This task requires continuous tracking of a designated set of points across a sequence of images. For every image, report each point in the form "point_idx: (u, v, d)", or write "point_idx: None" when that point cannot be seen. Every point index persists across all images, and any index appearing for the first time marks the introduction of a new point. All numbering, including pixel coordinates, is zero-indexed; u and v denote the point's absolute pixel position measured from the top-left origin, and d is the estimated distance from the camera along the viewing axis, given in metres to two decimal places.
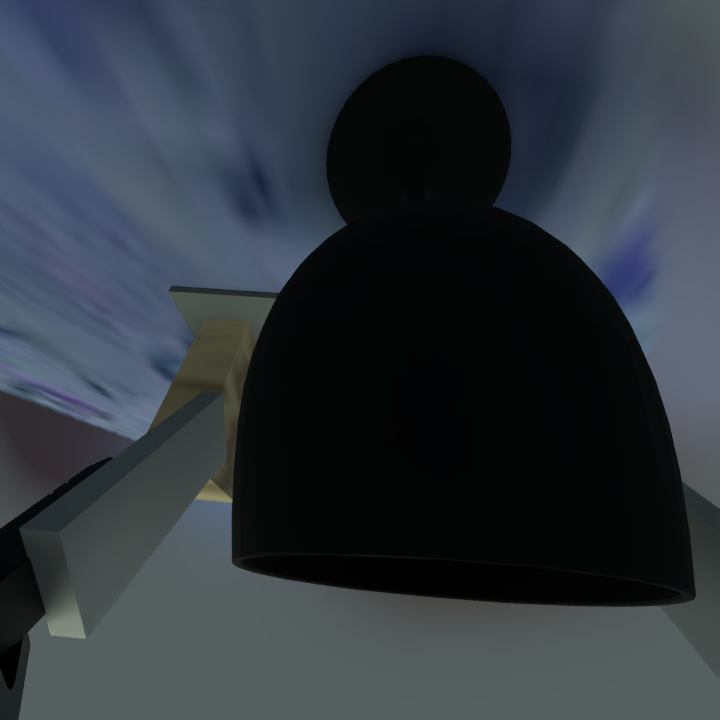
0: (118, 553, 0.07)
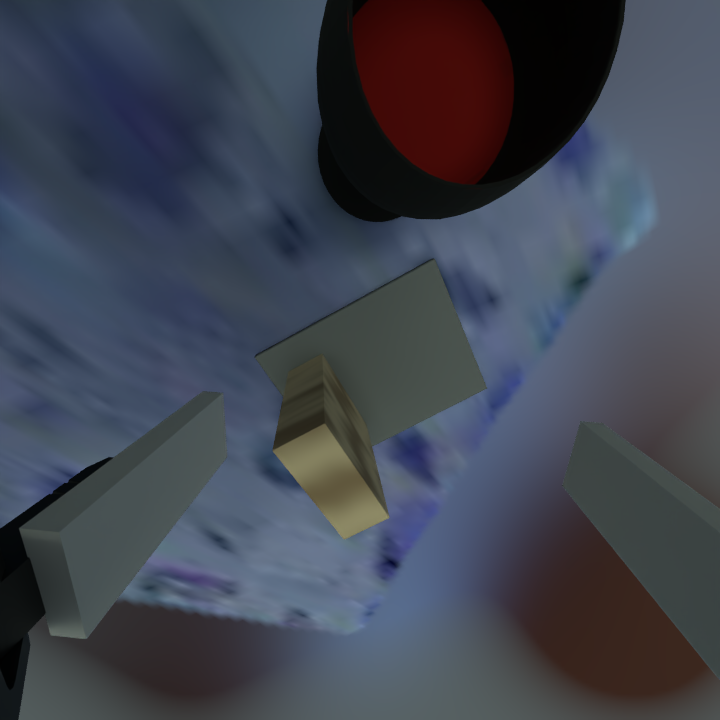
0: (118, 553, 0.07)
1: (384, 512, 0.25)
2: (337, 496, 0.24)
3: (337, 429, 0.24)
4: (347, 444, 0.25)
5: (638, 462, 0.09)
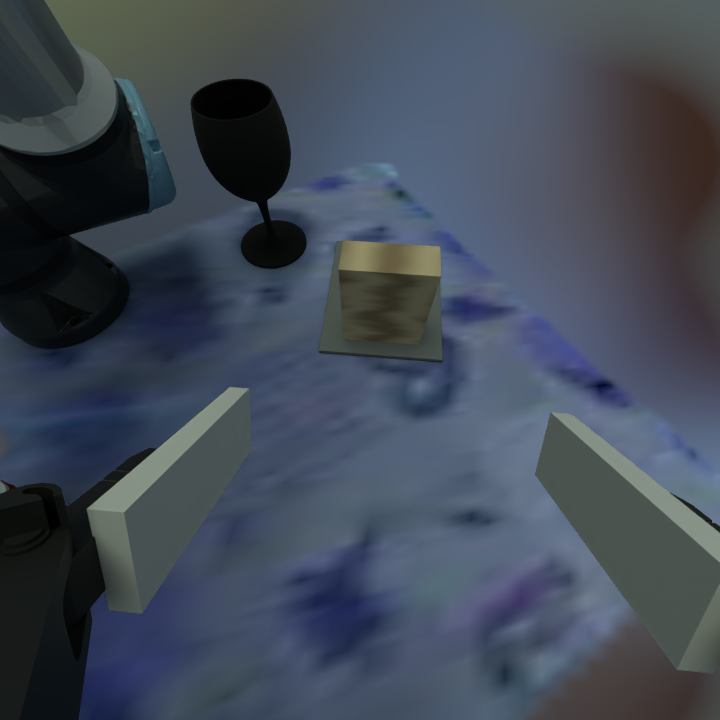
0: (166, 536, 0.08)
1: (433, 247, 0.34)
2: (398, 260, 0.33)
3: None
4: None
5: (598, 449, 0.10)
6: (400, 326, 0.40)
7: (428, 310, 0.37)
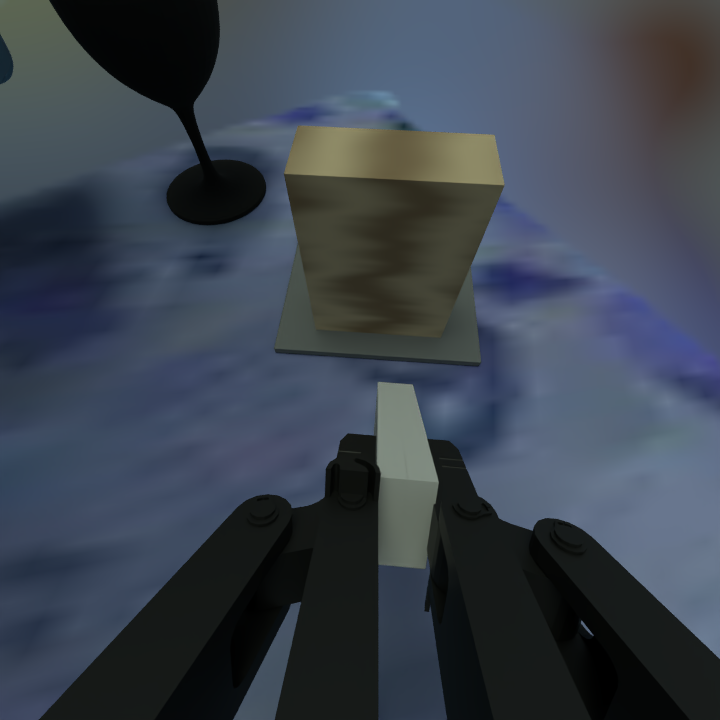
0: None
1: (480, 135, 0.17)
2: (412, 157, 0.16)
3: None
4: None
5: (403, 408, 0.12)
6: (410, 305, 0.23)
7: (465, 271, 0.20)
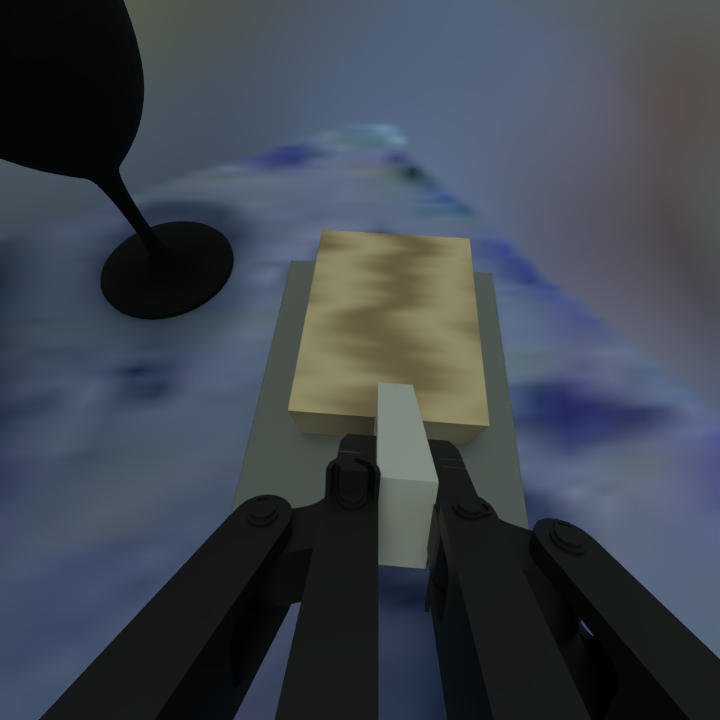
0: None
1: None
2: None
3: None
4: None
5: (404, 408, 0.12)
6: (428, 352, 0.18)
7: (473, 303, 0.20)
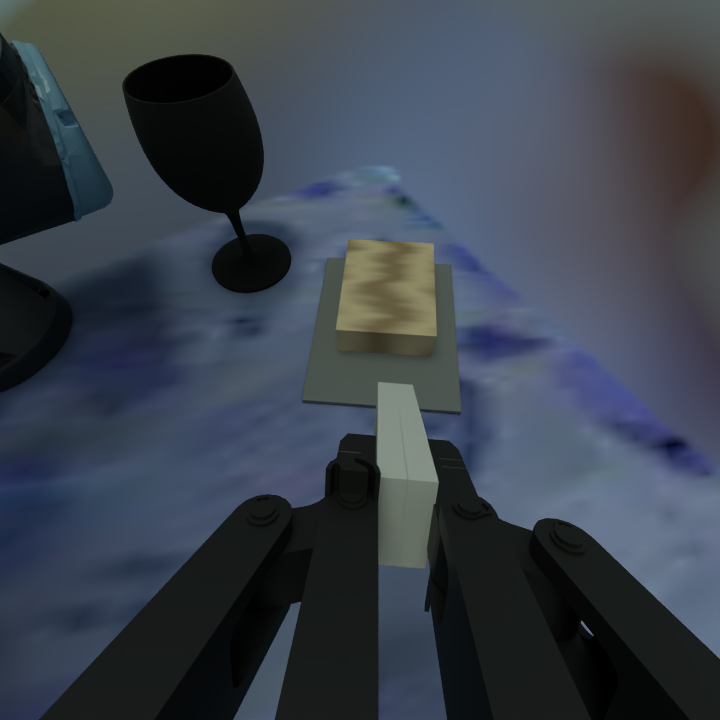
0: None
1: None
2: None
3: None
4: None
5: (403, 408, 0.12)
6: (407, 303, 0.35)
7: (433, 278, 0.36)
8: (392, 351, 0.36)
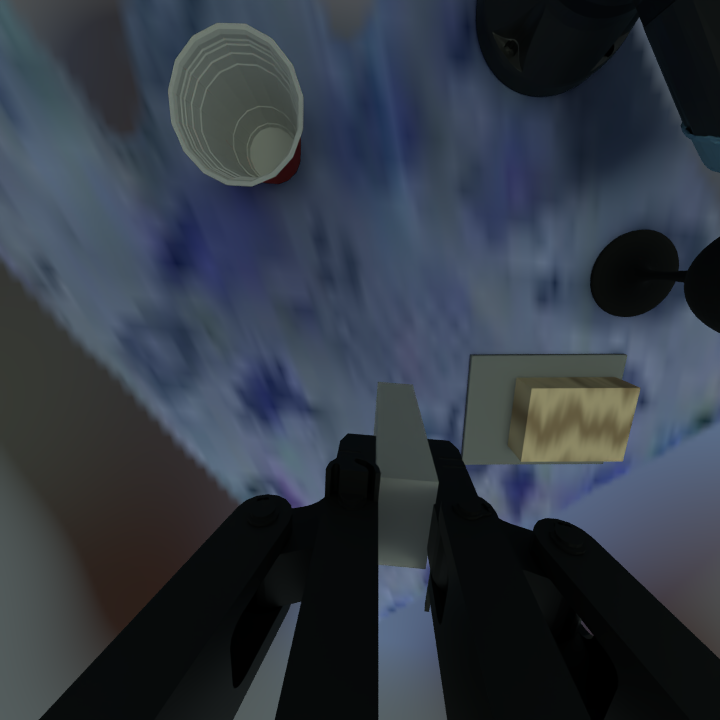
0: None
1: None
2: None
3: None
4: None
5: (404, 408, 0.12)
6: (555, 441, 0.42)
7: (579, 460, 0.42)
8: (512, 420, 0.45)
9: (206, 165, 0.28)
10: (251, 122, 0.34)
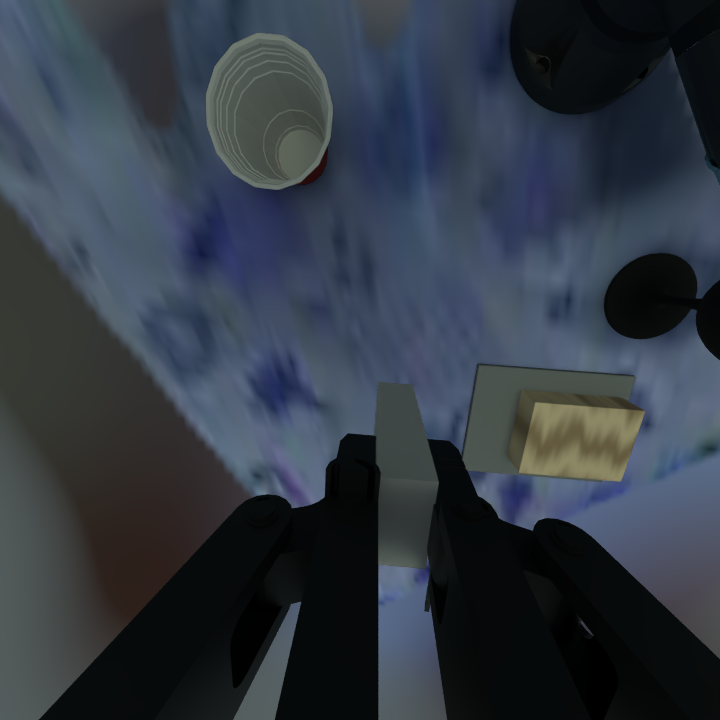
0: None
1: None
2: None
3: None
4: None
5: (403, 408, 0.12)
6: (554, 455, 0.42)
7: (577, 476, 0.43)
8: (514, 431, 0.45)
9: (236, 167, 0.29)
10: (282, 124, 0.35)
